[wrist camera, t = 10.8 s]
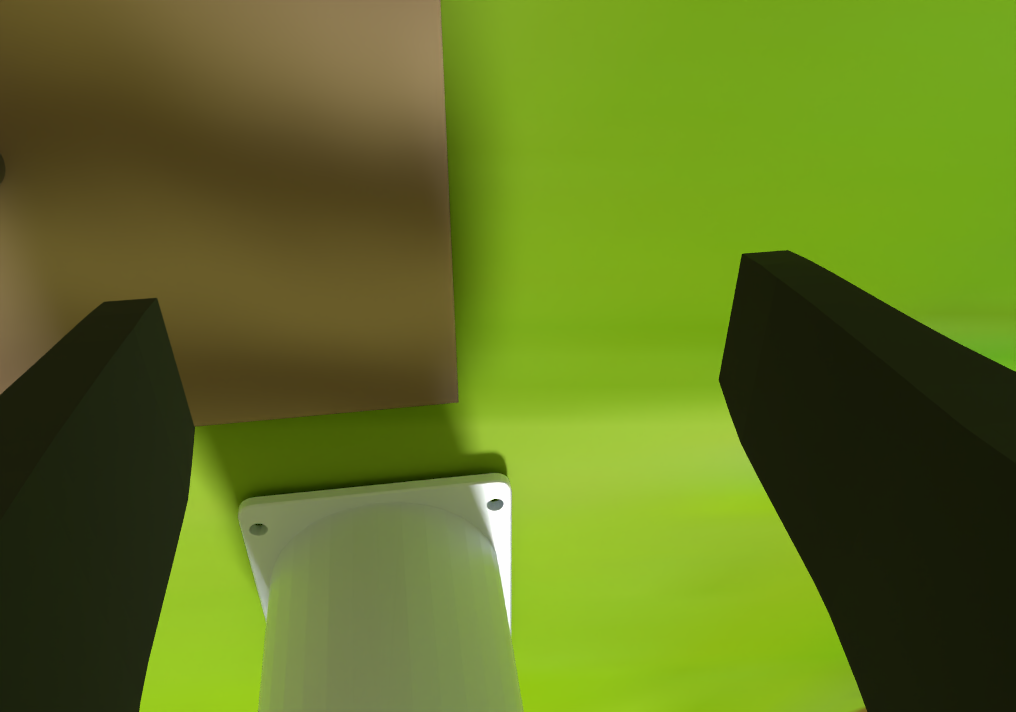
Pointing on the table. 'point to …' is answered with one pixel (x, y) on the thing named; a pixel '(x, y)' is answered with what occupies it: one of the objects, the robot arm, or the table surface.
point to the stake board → (234, 194)
